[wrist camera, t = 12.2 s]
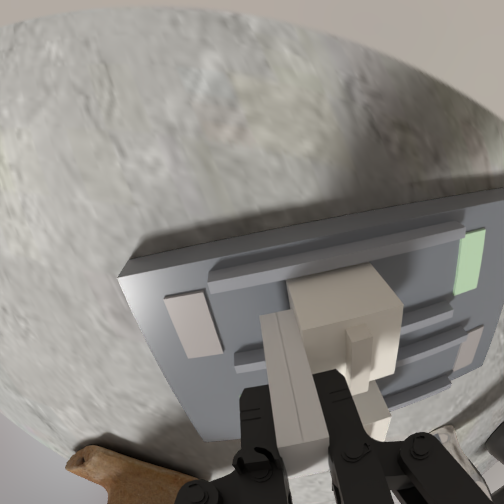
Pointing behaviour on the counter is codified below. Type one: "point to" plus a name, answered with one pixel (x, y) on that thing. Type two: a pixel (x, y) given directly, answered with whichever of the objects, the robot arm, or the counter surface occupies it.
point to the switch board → (314, 261)
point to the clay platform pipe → (127, 476)
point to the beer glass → (460, 455)
